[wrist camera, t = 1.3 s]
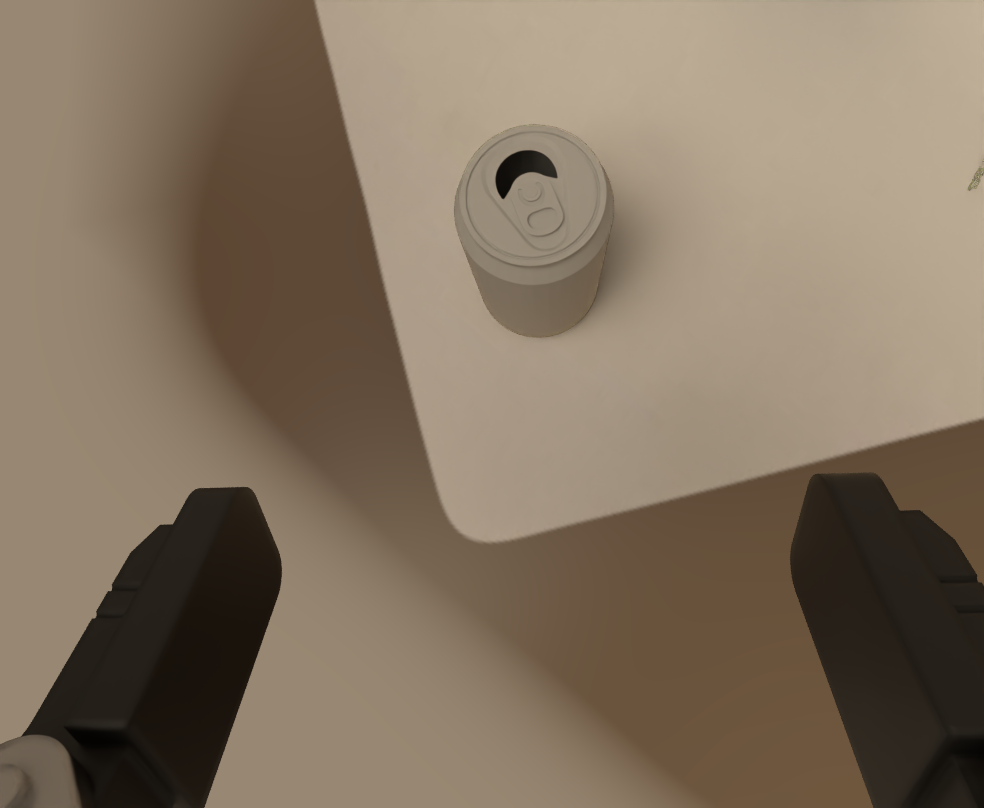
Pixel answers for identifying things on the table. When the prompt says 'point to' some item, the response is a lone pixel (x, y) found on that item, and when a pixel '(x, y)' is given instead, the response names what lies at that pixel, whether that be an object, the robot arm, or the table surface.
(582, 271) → the beverage can
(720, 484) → the table surface
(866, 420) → the table surface
